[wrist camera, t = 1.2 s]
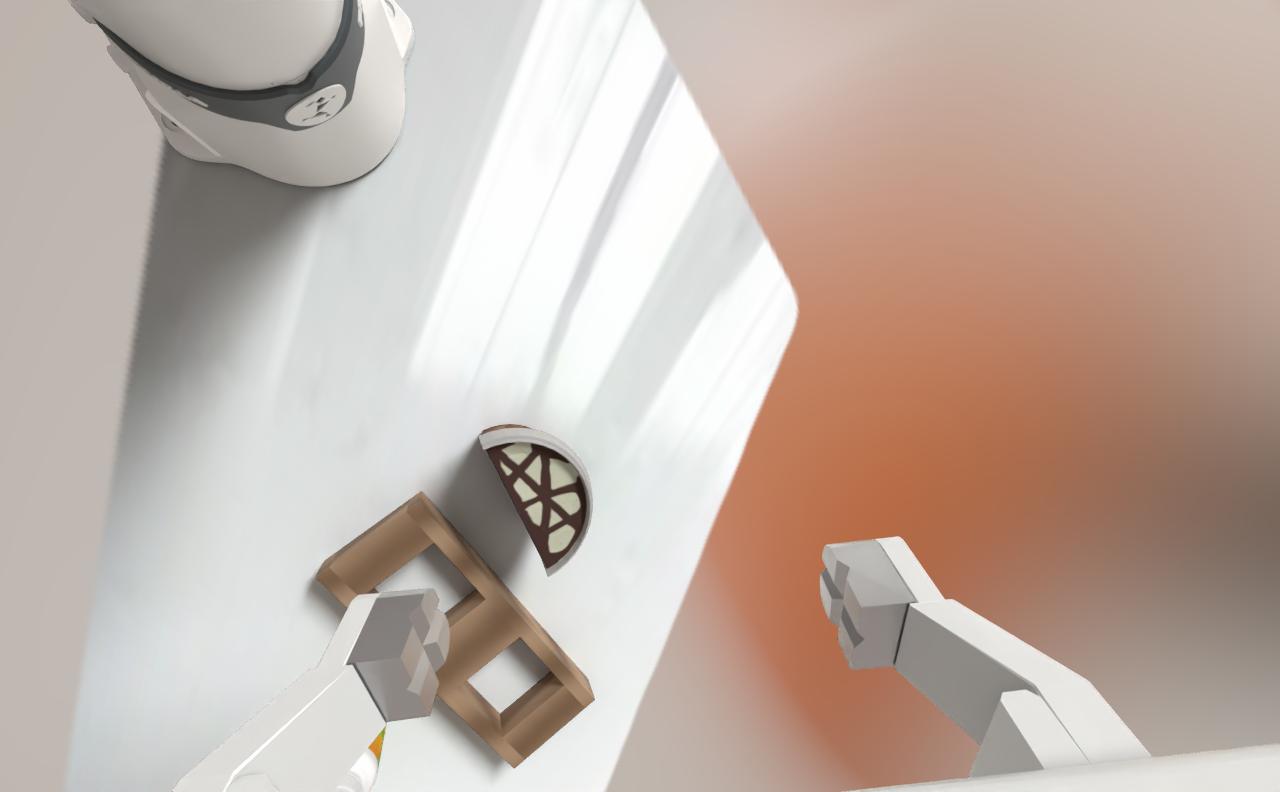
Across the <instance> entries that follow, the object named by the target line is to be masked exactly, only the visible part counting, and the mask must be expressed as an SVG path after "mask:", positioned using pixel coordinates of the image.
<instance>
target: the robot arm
mask: <svg viewBox="0 0 1280 792" xmlns="http://www.w3.org/2000/svg"><path fill="white" fill-rule="evenodd" d="M68 1H69V3H70V4H71V5H72V6H73V8H74V9H75V10H76V11H77V12H78V13H79V14H80V15H81V16H82V17H83V18H84V19H85V20H86V21H87V22H89V23H93V24H98V26H99V27H100V28H101V29H102V30H103V31H104V33H105V35H106V36H107V38H108V40H109V42H110V43H111V46H108V47H107V50H108V52H109V54H110V56H111V57H112V59H113V60H114V61H115V63H116V64H117V65H118V66H119V67H120V68H121V69H122V70H123V71H124V72H126V73H128V74H129V75H130V77H131V79H132V81H133V82H134V84H135V85H136V87H137V89H138V91H139V92H140V94H141V96H142V97H143V99H144V101H145V103H146V104H147V106H148V108H149V109H150V111H151V113H152V114H153V116H154V118H155V119H156V121H157V123H158V125H159V126H160V128H161V130H162V131H163V133H164V135H165V137H166V138H167V140H168V142H169V143H170V144H171V145H172V147H173V148H175V149H176V150H177V151H178V152H179V153H181V154H182V155H183V156H185V157H187V158H190V159H193V160H198V161H205V162H216V163H232V164H235V165H239V166H241V167H244V168H247V169H249V170H251V171H254V172H256V173H258V174H261V175H263V176H265V177H268V178H271V179H273V180H277V181H280V182H284V183H288V184H293V185H299V186H313V187H318V186H331V185H336V184H341V183H345V182H348V181H351V180H353V179H356V178H358V177H360V176H362V175H364V174H366V173H367V172H369V171H370V170H372V169H373V168H374V167H376V166H377V165H378V164H379V163H380V162H381V161H382V160H383V159H384V158H385V157H386V156H387V155H388V153H389V152H390V151H391V149H392V148H393V146H394V144H395V142H396V141H397V139H398V136H399V134H400V131H401V128H402V125H403V121H404V115H405V105H406V96H405V83H404V71H405V65H406V63H407V61H408V58H409V55H410V53H411V50H412V47H413V43H414V29H413V26H412V24H411V21H410V19H409V18H408V16H407V15H406V14H405V13H404V11H403V10H402V9H401V8H400V7H399V6H398V5H397V4H396V3H395V1H394V0H68ZM176 125H178V126H179V127H177V126H176ZM822 559H823V561H824V563H825V565H826V569H825V570H824V571H823V572H822V573H821V575H820V576H821V577H820V590H821V598H822V602H823V605H824V608H825V611H826V613H827V616H828V618H829V620H830V621H831V622H833V623H834V624H835V625H837V626H838V627H839V634H838V641H839V644H840V646H841V648H842V650H843V653H844V655H845V657H846V659H847V661H848V664H849V666H850V668H851V670H855V669H868V668H879V667H893V666H895V668H894V669H895V670H896V671H898V672H899V673H900V674H901V675H902V676H903V677H904V678H905V679H907V680H908V681H909V682H910V683H911V684H912V685H913V686H914V687H915V688H917V689H918V690H919V691H920V692H921V693H922V694H924V696H926V697H927V698H928V699H929V700H930V701H931V702H932V703H933V704H935V705H936V706H937V707H938V708H939V709H940V710H941V711H943V713H945V714H946V715H947V716H948V717H949V718H950V719H951V720H953V721H954V722H955V723H956V724H957V725H958V726H959V727H960V728H962V729H963V730H964V731H965V732H966V733H967V734H968V735H969V736H971V737H972V738H973V739H974V740H975V741H976V742H977V743H978V744H979V745H981V747H980V749H979V752H978V754H977V757H976V759H975V762H974V764H973V767H972V769H971V772H970V774H969V778H961V779H952V780H943V781H935V782H925V783H917V784H907V785H898V786H889V787H880V788H871V789H862V790H853V791H844V792H1280V743H1276V744H1268V745H1258V746H1250V747H1241V748H1231V749H1222V750H1213V751H1204V752H1195V753H1186V754H1177V755H1169V756H1159V757H1152V756H1151V755H1150V754H1149V752H1148V751H1147V750H1146V749H1145V748H1144V746H1142V744H1141V743H1140V742H1139V740H1138V739H1137V738H1136V737H1135V736H1134V735H1133V733H1132V732H1131V731H1130V730H1129V729H1128V727H1127V726H1126V725H1125V724H1124V723H1123V722H1122V720H1121V719H1120V718H1119V717H1118V715H1117V714H1116V713H1115V712H1114V711H1113V709H1112V708H1111V707H1110V706H1109V705H1108V703H1107V702H1106V701H1105V700H1104V699H1103V697H1102V696H1101V695H1100V694H1099V693H1098V691H1097V690H1096V689H1095V688H1094V687H1093V686H1092V684H1091V683H1090V682H1089V681H1088V680H1086V679H1085V678H1083V677H1081V676H1080V675H1078V674H1076V673H1074V672H1073V671H1071V670H1070V669H1068V668H1066V667H1064V666H1063V665H1061V664H1060V663H1058V662H1056V661H1054V660H1053V659H1051V658H1050V657H1048V656H1046V655H1045V654H1043V653H1041V652H1040V651H1038V650H1036V649H1035V648H1033V647H1031V646H1030V645H1028V644H1026V643H1024V642H1023V641H1021V640H1019V639H1018V638H1016V637H1015V636H1013V635H1011V634H1010V633H1008V632H1006V631H1005V630H1003V629H1001V628H1000V627H998V626H996V625H995V624H993V623H991V622H990V621H988V620H986V619H985V618H983V617H981V616H980V615H978V614H976V613H974V612H973V611H971V610H970V609H968V608H966V607H965V606H963V605H961V604H960V603H958V602H956V601H955V600H953V599H950V600H945V599H944V598H943V596H942V595H941V593H940V592H939V590H938V589H937V588H936V586H935V585H934V583H933V582H932V580H931V579H930V577H929V576H928V575H927V573H926V572H925V570H924V569H923V567H922V566H921V564H920V563H919V562H918V560H917V559H916V557H915V556H914V554H913V553H912V552H911V550H910V549H909V547H908V546H907V544H906V543H905V541H904V540H903V539H901V538H900V537H890V538H881V539H874V540H863V541H854V542H846V543H838V544H829V545H826V546H825V548H824V549H823V556H822ZM438 603H439V598H438V596H437V594H436V592H435V590H434V589H417V590H405V591H393V592H382V593H374V594H362V595H358V596H357V597H355V598H354V599H353V600H352V601H351V603H350V605H349V607H348V609H347V610H346V612H345V614H344V616H343V618H342V620H341V622H340V624H339V626H338V628H337V630H336V632H335V634H334V636H333V637H332V639H331V641H330V643H329V645H328V647H327V649H326V651H325V653H324V655H323V657H322V659H321V661H320V663H319V664H318V666H317V668H315V669H309V670H308V671H306V672H305V673H304V674H303V675H302V676H301V677H299V678H298V679H297V680H296V681H295V682H294V683H292V684H291V685H290V686H289V687H288V688H287V689H285V690H284V691H283V692H282V693H281V694H279V695H278V696H277V697H276V698H275V699H274V700H272V701H271V702H270V703H269V704H268V705H267V706H265V707H264V708H263V709H262V710H261V711H260V712H258V713H257V714H256V715H255V716H254V717H253V718H251V719H250V720H249V721H248V722H247V723H246V724H244V725H243V726H242V727H241V728H240V729H239V730H237V731H236V732H235V733H234V734H233V735H232V736H230V737H229V738H228V739H227V740H226V741H225V742H223V743H222V744H221V745H220V746H219V747H217V748H216V749H215V750H214V751H213V752H212V753H210V754H209V755H208V756H207V757H206V758H205V759H203V760H202V761H201V762H200V763H199V764H198V765H196V766H195V767H194V768H193V769H192V770H191V771H189V772H188V773H187V774H186V775H185V776H184V777H182V778H181V779H180V780H179V782H178V783H177V785H176V786H175V788H174V789H173V791H172V792H333V791H334V789H335V788H336V787H337V786H338V784H339V783H340V782H341V781H342V779H343V778H344V777H345V776H346V774H347V773H348V772H349V771H350V769H351V768H352V767H353V766H354V764H355V763H356V762H357V761H358V760H359V758H360V757H361V756H362V755H363V753H364V752H365V751H366V750H367V748H368V747H369V746H370V745H371V743H372V742H373V741H374V740H375V738H376V737H377V736H378V735H379V733H380V732H381V731H382V730H383V728H384V727H385V726H386V722H390V721H397V720H404V719H412V718H419V717H426V716H430V713H431V710H432V706H433V703H434V699H435V696H436V693H437V689H438V686H439V681H438V679H437V677H436V674H435V672H436V671H437V670H438V669H439V668H440V667H441V666H442V665H443V664H444V663H445V662H446V658H447V654H448V650H449V641H450V630H449V623H448V620H447V618H446V615H445V614H444V613H442V612H440V611H439V610H437V606H438Z"/></svg>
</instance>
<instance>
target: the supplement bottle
mask: <svg viewBox="0 0 1280 792" xmlns="http://www.w3.org/2000/svg"><path fill="white" fill-rule="evenodd" d="M386 723H387V722H386ZM385 728H386V726H385V727H384V728H383V730H382V731H381V732H380V733H379V735H378V736H377V737H376V738H375V740H374V741H373V742H372V743H371V745H370V746H369V747H368V748H367V750H366V751H365V752H364V753H363V755H362V756H361V757H360V758H359V760H358V761H357V762H356V763H355V764H354V766H353V767H352V768H351V769H350V771H349V772H348V773H347V774H346V776H345V777H344V778H343V779H342V781H341V782H340V783H339V784H338V786H337V787H336V788H335V789H334V791H333V792H370V790H371V789H372V787H373V785H374V783H375V780H376V777H377V773H378V767H379V761H380V756H381V750H382V745H383V739H384V734H385Z"/></svg>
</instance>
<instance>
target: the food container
mask: <svg viewBox="0 0 1280 792" xmlns="http://www.w3.org/2000/svg"><path fill="white" fill-rule="evenodd" d="M479 439H480V443H481V445H482V448H483V450H485V449H486V450H487V452H488V455H489V457H490V459H491V460H492V462H493V464H494V465H495V468H496V469H497V471H498V473H499V475H500V477H501V479H502V481H503V483H504V485H505V487H506V489H507V491H508V493H509V495H510V497H511V499H512V501H513V503H514V505H515V507H516V509H517V512H518V513H519V515H520V517H521V519H522V521H523V523H524V525H525V527H526V529H527V531H528V533H529V535H530V537H531V539H532V541H533V543H534V545H535V547H536V549H537V551H538V553H539V555H540V556H541V559H542V562H543V565H544V567H545V570H546V573H547V576H548V577H549V576H551V575H553V574H554V573H556V572H557V571H558V570H560V569H561V568H562V567H563V566H564V565H565V564H567V563H568V561H569V560H570V559H571V558H572V557H573V556H574V555H575V553H576V552H577V550H578V549H579V547H580V546H581V544H582V542H583V540H584V538H585V536H586V534H587V532H588V529H589V526H590V522H591V517H592V511H593V498H592V489H591V483H590V479H589V476H588V473H587V470H586V468H585V467H584V465H583V463H582V461H581V459H580V458H579V457H578V456H577V455H576V453H575V452H574V451H573V450H572V449H571V448H570V447H569V446H568V445H566V444H565V443H564V442H562V441H561V440H559V439H557V438H556V437H554V436H552V435H550V434H547V433H545V432H542V431H538V430H534V429H531V428H529V427H526V426H521V425H512V424H507V425H499V426H494V427H491V428H488V429H486V430H483V435H480V436H479Z"/></svg>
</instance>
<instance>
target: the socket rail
mask: <svg viewBox="0 0 1280 792" xmlns="http://www.w3.org/2000/svg"><path fill="white" fill-rule="evenodd" d="M433 543H435V544H436V545H437V546H438V547H439V548H440V549H441V551H442V552H443V553H444V554H445V555H446V556H447V557H448V558H449V559H450V560H451V562H452V563H453V564H454V565H455V566H456V567H457V568H458V569H459V570H460V571H461V573H462V574H463V575H464V576H465V577H466V578H467V579H468V580H469V581H470V582H471V584H472V585H473V586H474V587H475V588H476V590H475V591H473V592H472V593H471V594H469V595H468V596H467V597H466V598H464V599H463V600H462V601H460V602H459V603H458V604H456V605H455V606H454V607H453V608H451V609H450V610H449V611H447V612H446V613H445V615H446V618H447V620H448V623H449V630H450V641H449V650H448V654H447V658H446V662H445V663H444V664H443V665H442V666H441V667H440V668H439V669H438V670H437V671H436V672H435V674H436V677H437V679H438V681H439V686H438V689H437V693H436V694H437V695H438V696H439V697H440V698H441V699H442V700H443V701H444V702H445V703H446V704H448V705H449V706H450V707H451V708H452V709H453V710H454V711H455V712H456V713H457V714H458V715H459V716H460V717H461V718H462V719H463V720H464V721H465V722H466V723H467V724H468V725H469V726H470V727H471V728H472V729H473V730H475V731H476V732H477V733H478V734H479V735H480V736H481V737H482V738H483V739H484V740H485V741H486V742H487V743H488V744H489V745H490V746H491V747H492V748H493V749H494V750H495V751H496V752H497V753H498V754H499V755H501V756H502V757H503V758H504V759H505V760H506V761H507V762H508V763H509V764H510V765H511V766H512V767H513V768H516V767H517V766H518V765H519V764H520V763H521V762H523V761H524V760H525V759H526V758H527V757H528V756H530V755H531V754H532V753H533V752H534V751H535V750H537V749H538V748H539V747H540V746H541V745H542V744H544V743H545V742H546V741H547V740H548V739H549V738H551V737H552V736H553V735H554V734H555V733H556V732H558V731H559V730H560V729H561V728H562V727H563V726H565V725H566V724H567V723H568V722H569V721H570V720H572V719H573V718H574V717H575V716H576V715H578V714H579V713H580V712H581V711H582V710H583V709H585V708H586V707H587V706H588V705H589V704H590V703H592V702H593V701H594V700H595V698H594V695H593V692H592V689H591V686H590V684H589V681H588V679H587V677H586V676H585V675H584V674H583V673H582V672H581V671H580V670H579V668H578V667H577V666H576V665H575V664H574V663H573V662H572V661H571V659H570V658H569V657H568V656H567V655H566V654H565V653H564V651H563V650H562V649H561V648H560V647H559V646H558V645H557V644H556V642H555V641H554V640H553V639H552V638H551V637H550V636H549V634H548V633H547V632H546V631H545V630H544V629H543V628H542V627H541V625H540V624H539V623H538V622H537V621H536V620H535V619H534V618H533V616H532V615H531V614H530V613H529V612H528V611H527V610H526V608H525V607H524V606H523V605H522V604H521V603H520V602H519V601H518V599H517V598H516V597H515V596H514V595H513V594H512V593H511V591H510V590H509V589H508V588H507V587H506V586H505V585H504V584H503V582H502V581H501V580H500V579H499V578H498V577H497V576H496V575H495V573H494V572H493V571H492V570H491V569H490V568H489V567H488V565H487V564H486V563H485V562H484V561H483V560H482V559H481V558H480V556H479V555H478V554H477V553H476V552H475V551H474V550H473V548H472V547H471V546H470V545H469V544H468V543H467V542H466V541H465V539H464V538H463V537H462V536H461V535H460V534H459V533H458V532H457V530H456V529H455V528H454V527H453V526H452V525H451V524H450V522H449V521H448V520H447V519H446V518H445V517H444V516H443V515H442V513H441V512H440V511H439V510H438V509H437V508H436V507H435V505H434V504H433V503H432V502H431V501H430V500H429V499H428V498H427V496H426V495H425V494H424V493H423V492H422V491H421V492H420V493H418V494H417V495H415V496H414V497H413V498H411V499H410V500H408V501H407V502H406V503H404V504H403V505H401V506H400V507H399V508H397V509H396V510H395V511H393V512H392V513H390V514H389V515H388V516H386V517H385V518H383V519H382V520H381V521H379V522H378V523H377V524H375V525H374V526H372V527H371V528H370V529H368V530H367V531H365V532H364V533H363V534H361V535H360V536H358V537H357V538H356V539H354V540H353V541H352V542H350V543H349V544H347V545H346V546H345V547H343V548H342V549H340V550H339V551H338V552H336V553H335V554H333V555H332V556H331V557H329V558H328V559H327V560H325V561H324V563H323V565H322V567H321V569H320V571H319V573H318V574H317V576H316V578H317V579H318V580H319V581H320V582H321V583H322V584H323V585H324V586H325V587H326V588H327V589H328V590H329V591H330V592H331V593H332V594H333V595H334V596H335V597H336V598H337V599H338V600H339V601H340V602H342V603H343V604H344V605H345V606H346V607H347V608H348V607H349V605H350V603H351V601H352V600H353V599H354V598H355V597H357V596H358V595H362V594H374V593H379V592H378V591H377V590H376V589H375V588H374V587H375V586H377V585H378V584H379V583H381V582H382V581H383V580H385V579H386V578H387V577H389V576H390V575H391V574H393V573H394V572H395V571H397V570H398V569H399V568H401V567H402V566H403V565H405V564H406V563H407V562H409V561H410V560H412V559H413V558H414V557H416V556H417V555H418V554H420V553H421V552H422V551H424V550H425V549H426V548H428V547H429V546H430V545H432V544H433ZM519 637H521V638H522V639H523V641H524V642H525V643H526V644H527V645H528V646H529V647H530V648H531V649H532V650H533V652H534V653H535V654H536V655H537V656H538V657H539V658H540V659H541V660H542V661H543V663H544V664H545V665H546V666H547V667H548V668H549V669H550V670H551V672H550V673H549V674H548V675H546V676H545V677H544V678H543V679H542V680H540V681H539V682H538V683H537V684H536V685H534V686H533V687H532V688H531V689H530V690H528V691H527V692H526V693H525V694H524V695H522V696H521V697H520V698H519V699H518V700H516V701H515V702H514V703H513V704H512V705H510V706H509V707H508V708H507V709H505V710H504V711H503V712H502V713H501V714H499V713H498V712H497V711H496V710H495V709H494V708H493V707H492V706H491V705H490V704H489V703H488V702H487V701H486V700H485V699H484V698H483V697H482V696H481V695H480V694H479V693H478V692H477V691H476V690H475V689H474V688H473V687H472V686H471V685H470V684H469V683H468V682H467V681H466V680H467V679H469V678H470V677H471V676H472V675H473V674H475V673H476V672H477V671H478V670H480V669H481V668H482V667H483V666H485V665H486V664H487V663H488V662H490V661H491V660H492V659H493V658H495V657H496V656H497V655H498V654H500V653H501V652H502V651H503V650H504V649H506V648H507V647H508V646H509V645H511V644H512V643H513V642H514V641H516V640H517V639H518V638H519Z"/></svg>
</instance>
